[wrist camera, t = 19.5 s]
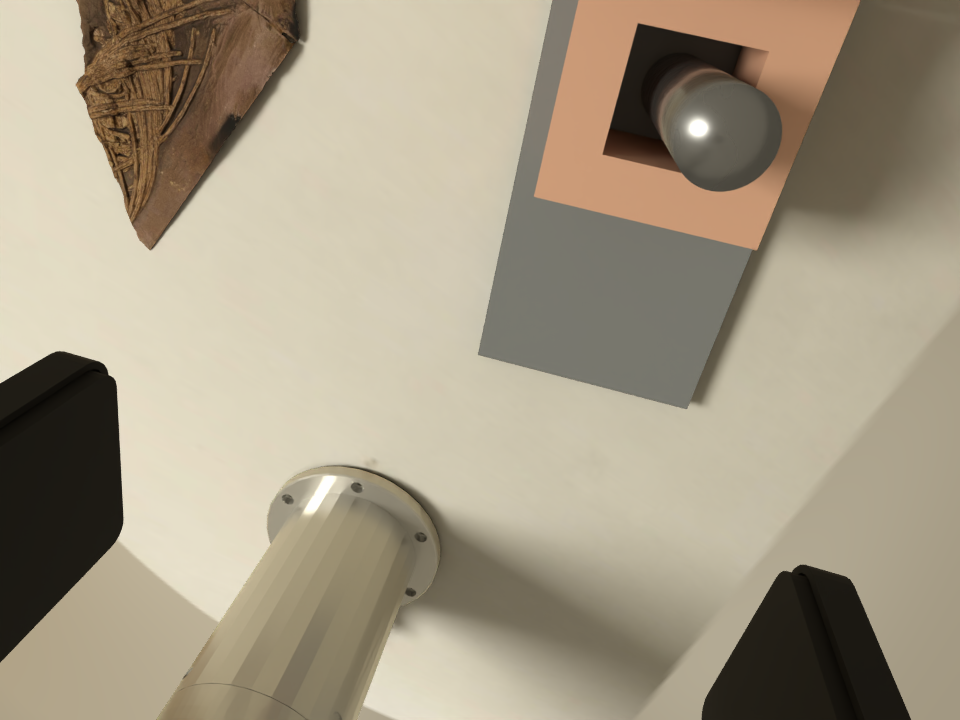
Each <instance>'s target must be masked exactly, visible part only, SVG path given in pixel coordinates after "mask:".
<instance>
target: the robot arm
mask: <svg viewBox="0 0 960 720" xmlns="http://www.w3.org/2000/svg"><path fill="white" fill-rule="evenodd" d="M122 526H123V501H122V481H121V462H120V442H119V422H118V403H117V386H116V381H115V380H114V378H113V377H111V376H109V375H108V370H107V368H106V367H105V365H104V364H102V363H101V362H98V361H95V360H91V359H88V358H84V357H81V356H78V355H74V354H71V353H67V352H61V351H57V352H55V353H52V354H50V355H48V356H46V357H45V358H43V359H41V360H39V361H38V362H36V363H34V364H33V365H31V366H29V367H27V368H26V369H24V370H22V371H21V372H19V373H17V374H16V375H14V376H12V377H10V378H9V379H7V380H5V381H4V382H2V383H0V662H1V661H2V660H3V659H4V658H5V657H6V656H7V655H8V654H9V653H10V652H11V651H12V650H13V649H14V648H15V647H16V646H17V645H18V643H19V642H20V641H21V640H22V639H23V638H24V637H25V636H26V635H27V634H28V633H29V632H30V631H31V630H32V629H33V628H34V627H35V626H36V625H37V624H38V623H39V622H40V620H42V619H43V618H44V616H45V615H46V614H47V613H48V612H49V611H50V610H51V609H52V608H53V607H54V606H55V605H56V604H57V603H58V602H59V601H60V600H61V599H62V598H63V597H64V595H66V594H67V593H68V591H69V590H70V589H71V588H72V587H73V586H74V585H75V584H76V583H77V582H78V581H79V580H80V579H81V578H82V577H83V576H84V575H85V574H86V573H87V572H88V571H89V570H90V569H91V568H92V567H93V565H94V564H95V563H96V562H97V561H98V560H99V559H100V558H101V557H102V556H103V555H104V554H105V553H106V552H107V551H108V550H109V549H110V548H111V546H112V545H113V544H114V543H115V542H116V540H117V538H118V537H119V534H120V532H121V530H122ZM267 531H268V536H269V541H270V543H271V545H270V546H269V548H268V549H267V551H266V552H265V554H264V555H263V557H262V559H261V560H260V562H259V563H258V565H257V566H256V568H255V569H254V571H253V572H252V574H251V575H250V577H249V578H248V580H247V581H246V583H245V584H244V586H243V588H242V589H241V591H240V592H239V594H238V595H237V597H236V598H235V600H234V601H233V603H232V604H231V606H230V607H229V609H228V610H227V612H226V613H225V615H224V617H223V618H222V620H221V621H220V623H219V624H218V626H217V627H216V629H215V630H214V632H213V633H212V635H211V636H210V638H209V640H208V641H207V643H206V644H205V646H204V647H203V649H202V650H201V652H200V653H199V655H198V656H197V658H196V659H195V661H194V663H193V664H192V666H191V667H190V669H189V670H188V672H187V673H186V675H185V676H184V678H183V679H182V681H181V682H180V684H179V686H178V687H177V689H176V690H175V692H174V693H173V695H172V697H171V698H170V700H169V701H168V702H167V704H166V705H165V707H164V708H163V710H162V712H161V713H160V715H159V716H158V718H157V719H156V720H357V719H358V716H359V713H360V711H361V708H362V706H363V703H364V700H365V698H366V695H367V692H368V690H369V687H370V684H371V682H372V679H373V676H374V674H375V671H376V668H377V666H378V663H379V660H380V658H381V655H382V652H383V650H384V647H385V644H386V642H387V639H388V637H389V634H390V631H391V629H392V626H393V623H394V621H395V618H396V615H397V613H398V610H399V607H400V606H404V605H406V604H408V603H410V602H412V601H414V600H416V599H418V598H419V597H420V596H421V595H422V594H424V593H425V592H426V591H427V589H428V588H429V586H430V585H431V584H432V582H433V580H434V577H435V575H436V572H437V569H438V565H439V561H440V542H439V538H438V535H437V531H436V529H435V527H434V525H433V523H432V521H431V519H430V517H429V516H428V515H427V513H426V512H425V511H424V509H423V508H422V507H421V506H420V504H419V503H418V502H417V501H415V500H414V499H413V498H412V497H411V496H410V495H409V494H408V493H407V492H405V491H404V490H402V489H401V488H399V487H398V486H396V485H395V484H394V483H392V482H390V481H388V480H386V479H384V478H382V477H380V476H378V475H375V474H372V473H369V472H366V471H363V470H360V469H354V468H348V467H342V466H327V467H320V468H314V469H310V470H307V471H305V472H302V473H300V474H297V475H296V476H294V477H293V478H292V479H290V480H289V481H287V482H286V483H285V485H284V486H283V487H282V488H281V489H280V490H279V492H278V493H277V495H276V496H275V498H274V500H273V501H272V503H271V504H270V508H269V511H268V514H267ZM702 720H911V718H910V716H909V713H908V711H907V709H906V707H905V704H904V702H903V699H902V697H901V695H900V692H899V690H898V688H897V685H896V683H895V681H894V678H893V676H892V673H891V671H890V669H889V666H888V664H887V662H886V659H885V657H884V655H883V652H882V650H881V648H880V645H879V643H878V641H877V638H876V636H875V633H874V631H873V629H872V626H871V624H870V622H869V619H868V617H867V615H866V612H865V610H864V608H863V605H862V603H861V601H860V598H859V596H858V594H857V591H856V589H855V586H854V585H853V583H852V582H851V580H850V579H848V578H847V577H845V576H842V575H839V574H835V573H832V572H828V571H825V570H821V569H818V568H814V567H811V566H807V565H799V566H797V567H796V568H795V569H794V570H793V571H792V573H791V572H788V571H783V572H781V573H780V574H779V575H778V576H777V577H776V579H775V581H774V582H773V584H772V586H771V587H770V589H769V591H768V593H767V594H766V596H765V598H764V600H763V601H762V603H761V605H760V606H759V608H758V610H757V611H756V613H755V615H754V616H753V618H752V620H751V622H750V623H749V625H748V627H747V629H746V630H745V632H744V633H743V635H742V637H741V639H740V640H739V642H738V644H737V645H736V647H735V649H734V650H733V652H732V654H731V656H730V657H729V659H728V661H727V662H726V664H725V666H724V668H723V669H722V671H721V673H720V674H719V676H718V678H717V680H716V681H715V683H714V684H713V686H712V688H711V690H710V691H709V693H708V695H707V697H706V699H705V702H704V705H703V711H702Z"/></svg>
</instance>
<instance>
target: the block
mask: <svg viewBox="0 0 960 720" xmlns="http://www.w3.org/2000/svg"><path fill="white" fill-rule="evenodd" d="M860 1H861V0H579V1H578V5H577V9H576V14H575V18H574V22H573V27H572V31H571V36H570V40H569V44H568V49H567V53H566V58H565V62H564V66H563V71H562V75H561V80H560V84H559V88H558V93H557V97H556V102H555V106H554V110H553V115H552V119H551V123H550V128H549V132H548V137H547V141H546V145H545V150H544V154H543V159H542V163H541V167H540V172H539V176H538V181H537V185H536V189H535V194H534V197H537V198H541V199H545V200H549V201H553V202H558V203H562V204H566V205H570V206H574V207H578V208H583V209H587V210H591V211H595V212H599V213H603V214H608V215H612V216H616V217H620V218H624V219H628V220H633V221H637V222H641V223H645V224H649V225H653V226H658V227H662V228H666V229H670V230H674V231H678V232H683V233H687V234H691V235H695V236H699V237H703V238H708V239H712V240H716V241H720V242H724V243H728V244H733V245H737V246H741V247H745V248H749V249H753V250H757V249H758V247H759V244H760V242H761V239H762V237H763V235H764V232H765V230H766V227H767V225H768V223H769V220H770V218H771V215H772V213H773V211H774V208H775V206H776V203H777V201H778V198H779V196H780V194H781V191H782V189H783V186H784V184H785V182H786V179H787V177H788V174H789V172H790V170H791V167H792V165H793V162H794V160H795V158H796V155H797V153H798V150H799V148H800V145H801V143H802V141H803V138H804V136H805V133H806V131H807V129H808V126H809V124H810V121H811V119H812V117H813V114H814V112H815V109H816V107H817V105H818V102H819V100H820V97H821V95H822V92H823V90H824V88H825V85H826V83H827V80H828V78H829V76H830V73H831V71H832V68H833V66H834V64H835V61H836V59H837V56H838V54H839V52H840V49H841V47H842V44H843V42H844V40H845V37H846V35H847V32H848V30H849V27H850V25H851V23H852V20H853V18H854V15H855V13H856V11H857V8H858V6H859V3H860ZM638 23H640V24H645V25H649V26H654V27H659V28H663V29H668V30H673V31H677V32H682V33H686V34H691V35H696V36H700V37H705V38H710V39H714V40H719V41H723V42H728V43H733V44H737V45H742V48H741V51H740V54H739V57H738V60H737V63H736V66H735V69H734V72H733V74H732V76H733V77H735V78H737V79H739V80H741V81H743V82H745V83H747V84H749V85H751V86H753V87H754V88H756V89H758V90H760V91H762V92H763V93H765V94H766V95H767V96H768V97H769V98H770V99H771V100H772V101H773V103H774V104H775V105H776V107H777V109H778V111H779V114H780V117H781V122H782V139H781V143H780V147H779V150H778V153H777V155H776V157H775V159H774V160H773V162H772V163H771V165H770V166H769V167H768V169H767V170H766V171H765V172H764V173H763V174H762V175H761V176H760V177H759V178H757V179H756V180H755V181H753V182H751V183H750V184H748V185H746V186H744V187H742V188H739V189H736V190H731V191H725V192H715V191H709V190H705V189H702V188H700V187H698V186H696V185H694V184H693V183H691V182H690V181H689V180H688V179H686V178H685V176H684V175H683V174H682V173H681V171H680V169H679V168H678V166H677V164H676V162H675V161H674V159H673V157H672V155H671V154H670V152H669V150H668V149H667V147H666V145H665V143H664V142H663V141H662V140H658V139H654V138H649V137H645V136H641V135H636V134H632V133H628V132H623V131H619V130H614V129H610V124H611V120H612V117H613V113H614V109H615V106H616V102H617V98H618V95H619V91H620V87H621V83H622V80H623V76H624V72H625V69H626V65H627V61H628V58H629V54H630V50H631V47H632V43H633V39H634V36H635V32H636V28H637V24H638Z"/></svg>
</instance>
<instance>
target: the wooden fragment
mask: <svg viewBox="0 0 960 720" xmlns="http://www.w3.org/2000/svg"><path fill="white" fill-rule="evenodd" d="M76 1H77V3H78V5H79V12H80V16H81V29H82V33H83V40H82V44H83V47H84V49H85V55H84V62H85V74H84V75H83V76H82V77H80V78H79V80H78V82H77V84H76V86H77V88H78V90H79V92H80V94H81V95H82V97H83V98H84V100H85V102H86V104H87V109H88V114H89V116H90V118H91V119H92V122H93V127H94V131H95V134H96V136H97V138H98V139H99V141H100V142H101V143H102V145H103V147H104V150H105V152H106V155H107V158H108V161H109V164H110V166H111V168H112V171H113V174H114V177H115V178H116V179H117V182H118V183H119V184H120V187H121V190H122V192H123V195H124V203H125V208H126V211H127V213H128V216H129V219H130V221H131V223H132V225H133V227H134V229H135V230H136V232H137V236H138V238H139V240H140V241H141V242H142V243H143V244H144V245H145V246H146V247H147V248H148V249H149V250H151V248H152V247H153V245H154V244H155V243H156V241H157V240H158V238H159V237H160V236H161V234H162V232H163V231H164V230H165V227H167V225H168V224H169V222H170V221H171V219H172V218H173V216H174V215H175V214H176V212H177V211H178V209H179V208H180V206H181V205H182V203H183V202H184V201H185V200H186V198H187V196H188V195H189V193H190V192H191V191H192V189H193V188H194V187H195V185H196V184H197V182H198V181H199V179H200V177H201V176H202V175H203V173H204V172H205V170H206V169H207V168H208V166H209V165H210V163H211V162H212V160H213V159H214V157H215V156H216V154H217V153H218V152H219V150H220V148H221V147H222V145H223V143H224V141H225V140H226V139H227V137H228V136H229V135H230V134H231V132H232V130H234V129H235V126H236V124H237V123H238V122H239V121H240V120H241V119H242V117H243V116H244V114H245V113H246V111H247V110H248V109H249V108H250V106H251V104H252V103H253V102H254V100H255V99H256V98H257V96H258V94H259V93H260V92H261V91H262V89H263V87H264V85H265V83H266V81H268V80H269V78H270V77H269V76H272V72H274V71H275V70H276V69H277V67H278V66H279V65H280V63H281V62H282V61H283V59H284V58H285V56H286V55H287V53H288V52H289V51H290V49H291V48H292V47H293V45H294V44H295V42H296V41H298V39H299V36H300V33H299V27H298V20H297V16H296V14H295V5H296V3H295V0H76ZM283 32H285V33H287V34H288V35H289V36H290V39H291V38H293V40H294V41H295V42H293V43H291V42H289V40H288V39H286V38H285V36H283V35H282V33H283Z"/></svg>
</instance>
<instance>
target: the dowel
mask: <svg viewBox="0 0 960 720" xmlns="http://www.w3.org/2000/svg"><path fill="white" fill-rule="evenodd" d="M641 99H642V103H643V106H644V108H645V110H646V112H647V114H648V115H649V117H650V119H651V121H652V122H653V124H654V126H655V128H656V129H657V131H658V133H659V135H660V136H661V138H662V140H663V142H664V143H665V145H666V147H667V149H668V150H669V152H670V154H671V155H672V157H673V159H674V161H675V162H676V164H677V166H678V168H679V169H680V171H681V173H682V174H683V175H684V176H685V178H686V179H688V180H689V181H690V182H691V183H693V184H694V185H696V186H698V187H700V188H702V189H705V190H709V191H715V192H725V191H731V190H736V189H739V188H742V187H744V186H746V185H748V184H750V183H751V182H753V181H755V180H756V179H757V178H759V177H760V176H761V175H762V174H763V173H764V172H765V171H766V170H767V169H768V167H769V166H770V165H771V163H772V162H773V160H774V159H775V157H776V155H777V153H778V150H779V147H780V143H781V139H782V122H781V117H780V114H779V111H778V109H777V107H776V105H775V104H774V103H773V101H772V100H771V99H770V98H769V97H768V96H767V95H766V94H765V93H763V92H762V91H760V90H758V89H756V88H754V87H753V86H751V85H749V84H747V83H745V82H743V81H741V80H739V79H737V78H735V77H733V76H731V75H730V74H728V73H726V72H724V71H722V70H720V69H718V68H716V67H714V66H712V65H710V64H708V63H706V62H705V61H703V60H701V59H699V58H697V57H695V56H693V55H690V54H687V53H673V54H669V55H667V56H664V57H663V58H661V59H659V60H658V61H657V62H655V63H654V64H653V65H652V66H651V68H650V69H649V70H648V72H647V73H646V75H645V77H644V80H643V83H642V88H641Z"/></svg>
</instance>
